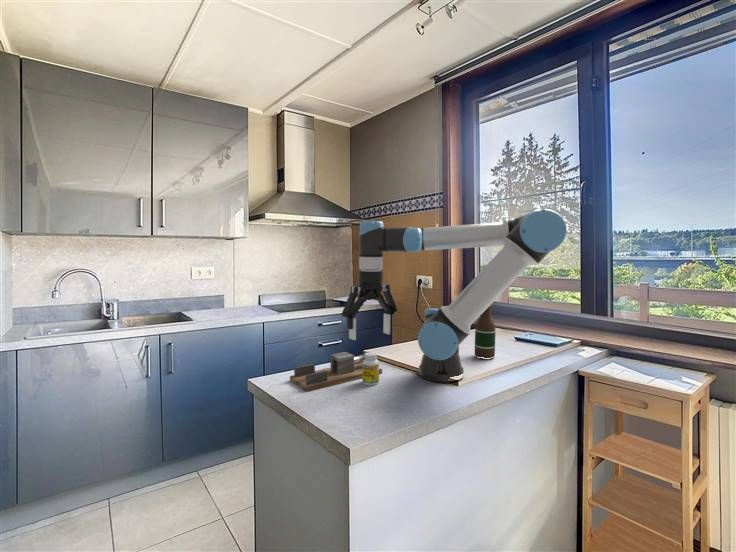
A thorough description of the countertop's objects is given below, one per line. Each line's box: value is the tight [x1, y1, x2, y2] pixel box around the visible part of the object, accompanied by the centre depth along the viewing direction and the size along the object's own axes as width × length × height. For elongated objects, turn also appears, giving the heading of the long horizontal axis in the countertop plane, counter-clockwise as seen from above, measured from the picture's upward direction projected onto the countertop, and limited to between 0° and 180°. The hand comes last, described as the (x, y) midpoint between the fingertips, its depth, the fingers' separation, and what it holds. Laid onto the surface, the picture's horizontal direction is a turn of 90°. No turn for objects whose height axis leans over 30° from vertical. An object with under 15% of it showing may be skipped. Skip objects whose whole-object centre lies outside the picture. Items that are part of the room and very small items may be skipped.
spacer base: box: [289, 351, 383, 393], centre depth 131 cm, size 12×29×7 cm, turn 126°
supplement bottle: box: [362, 351, 380, 386], centre depth 125 cm, size 5×5×10 cm
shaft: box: [336, 351, 369, 366], centre depth 135 cm, size 4×13×4 cm, turn 126°
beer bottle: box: [474, 304, 497, 358], centre depth 154 cm, size 8×8×24 cm
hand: (370, 336), depth 125 cm, fingers open, 13 cm apart
